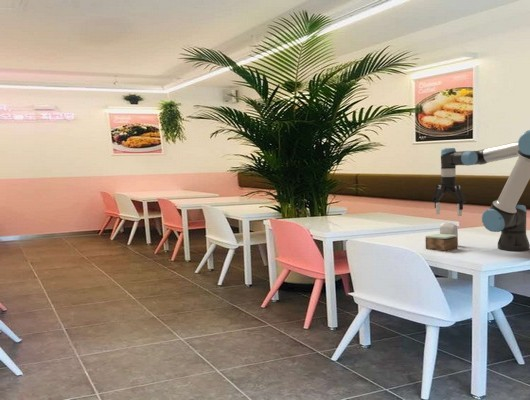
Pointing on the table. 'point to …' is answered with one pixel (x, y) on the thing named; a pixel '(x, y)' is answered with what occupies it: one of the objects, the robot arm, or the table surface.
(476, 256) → the table surface
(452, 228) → the photo printer
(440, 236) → the lid
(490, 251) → the table surface
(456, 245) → the box carcass
